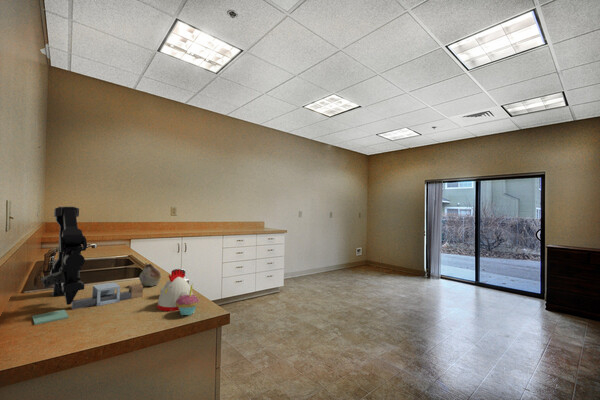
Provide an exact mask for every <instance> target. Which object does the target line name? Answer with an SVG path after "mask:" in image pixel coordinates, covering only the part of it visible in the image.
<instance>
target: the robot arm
mask: <svg viewBox="0 0 600 400" xmlns="http://www.w3.org/2000/svg"><path fill="white" fill-rule="evenodd" d="M53 210H54V211H53V217H54V218H55V222H56V223H57V225H59V226H58V227H59V233H58V234H59V235H58V251H57V255H58V256H57V259H56V260H55V261H54V263H53V264H52V268H50V274H48V275H46V276H44V277H41V278H40V281H41V282H42V285H43V287H44V288H45V289H46V288H50V287H51V286H53V291H52V292H51V293H50V294H51V296H52V297H59V296H64V298H65V302H66V305H67V306H68V305H72V301H73V300H75V297H76V296H77V293H78V292H79V291H84V290H85V283H84V282H83V281H81V276H80V275H81V274H80V272H81V270H82V267H83V266H84V264H85V261H86V258H85V257H84V256H83V255H82V252H84V251H87V248H88V242H87V238H86V235H83V234H84V233H83V230H81V228H78V227H79V226H78V219H77V218H78V217H80V208H78V207H75V206H58V207H55V208H54V209H53Z"/></svg>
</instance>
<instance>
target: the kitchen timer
mask: <svg viewBox="0 0 600 400" xmlns="http://www.w3.org/2000/svg"><path fill="white" fill-rule="evenodd" d="M177 269H178V271H177V270H175V269H174V270H175V273H174V272H173V271H172V270H171V271H172V272H170V273H171V274H168V279H169V280H167V281H168V282H167V281H166V283H165V285H164V286H163V287H161V288H160V290H159V291H160V294H159V296H158V300H157V306H156V307H157V309H158V310H159V309H160V310H159V311H162V310H163V312H176V311H175V310H179V308H178V307H177V306H176V305H175V303H176V300H177V299H178V298H179V297H181V296H183V295H189V294H190V288H191V285H190V283H189V284H188V282H187V281H186V280H185V279H186V278H184V276H185V277H186V272H185V273H183V271H181V272H180V269H181V268H177ZM182 273H183V275H182ZM183 278H184V279H183ZM191 295H194V293H193V291H192V292H191ZM179 311H180V310H179Z"/></svg>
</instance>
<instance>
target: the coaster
mask: <svg viewBox="0 0 600 400" xmlns="http://www.w3.org/2000/svg"><path fill="white" fill-rule="evenodd" d="M31 317H32V321H33V323H34V324H33V325H34V326H36V325H37V326H38V325H42V324H45V323H51V322H55V321H60V320H61V321H62V320H66V319H68V318H69V317H70V316H69V314H68V312H67V311H66V309H60V310H56V311H55V310H54V311H49V312H46V313H45V312H44V313H39V314H35V315H31Z"/></svg>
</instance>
